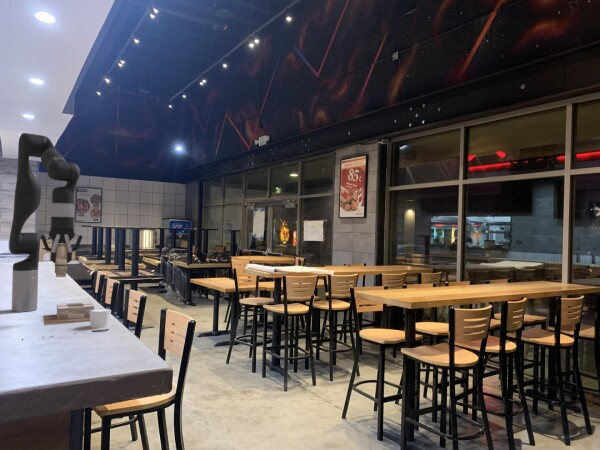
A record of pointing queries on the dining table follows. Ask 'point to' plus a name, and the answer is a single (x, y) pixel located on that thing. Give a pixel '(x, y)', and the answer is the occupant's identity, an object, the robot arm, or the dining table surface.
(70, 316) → the socket board
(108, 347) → the dining table surface
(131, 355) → the dining table surface
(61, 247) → the peg
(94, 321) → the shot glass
